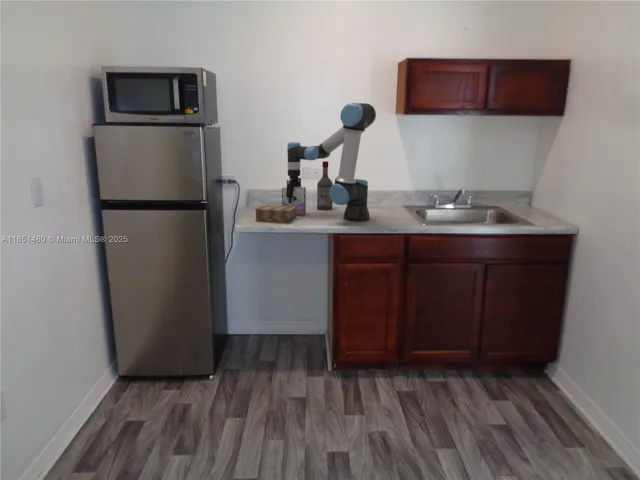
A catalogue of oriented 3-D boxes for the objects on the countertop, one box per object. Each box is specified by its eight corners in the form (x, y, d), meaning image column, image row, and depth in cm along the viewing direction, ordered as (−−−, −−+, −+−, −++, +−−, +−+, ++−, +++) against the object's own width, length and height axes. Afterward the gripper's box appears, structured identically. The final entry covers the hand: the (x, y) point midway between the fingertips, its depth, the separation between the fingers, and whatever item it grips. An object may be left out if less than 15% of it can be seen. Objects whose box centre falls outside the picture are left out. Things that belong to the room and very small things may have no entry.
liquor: (330, 210, 302) (331, 162, 295) (316, 210, 304) (317, 162, 296) (332, 208, 311) (333, 161, 304) (318, 207, 313) (319, 160, 305)
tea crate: (296, 219, 279) (296, 206, 277) (289, 224, 266) (289, 210, 264) (263, 217, 283) (263, 204, 281) (255, 222, 270) (255, 209, 268)
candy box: (306, 213, 293) (306, 186, 288) (304, 215, 287) (304, 187, 283) (283, 212, 294) (283, 186, 290) (281, 214, 288) (281, 187, 284)
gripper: (296, 167, 294) (296, 204, 300) (279, 170, 276) (280, 209, 282) (307, 167, 291) (307, 205, 297) (291, 171, 273) (291, 210, 279)
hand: (294, 207), depth 289 cm, fingers closed on candy box, 7 cm apart
